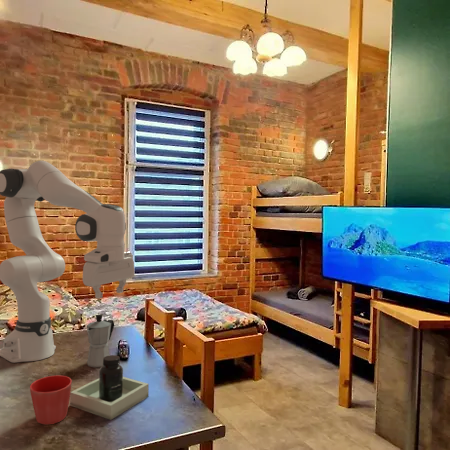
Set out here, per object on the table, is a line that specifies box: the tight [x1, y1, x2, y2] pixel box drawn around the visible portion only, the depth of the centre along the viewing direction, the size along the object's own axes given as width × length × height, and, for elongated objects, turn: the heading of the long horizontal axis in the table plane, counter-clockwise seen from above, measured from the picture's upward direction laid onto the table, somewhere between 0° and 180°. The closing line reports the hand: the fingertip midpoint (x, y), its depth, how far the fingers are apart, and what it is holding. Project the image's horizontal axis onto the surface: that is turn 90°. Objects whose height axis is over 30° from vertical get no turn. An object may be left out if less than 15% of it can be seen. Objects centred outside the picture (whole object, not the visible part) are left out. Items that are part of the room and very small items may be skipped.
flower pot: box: [29, 374, 73, 426], centre depth 115 cm, size 11×11×10 cm
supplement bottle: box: [98, 354, 124, 402], centre depth 125 cm, size 7×7×12 cm
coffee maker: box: [86, 313, 115, 368], centre depth 155 cm, size 15×9×18 cm, turn 158°
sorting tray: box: [69, 376, 150, 421], centre depth 125 cm, size 16×16×4 cm
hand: (109, 295), depth 138 cm, fingers open, 8 cm apart
